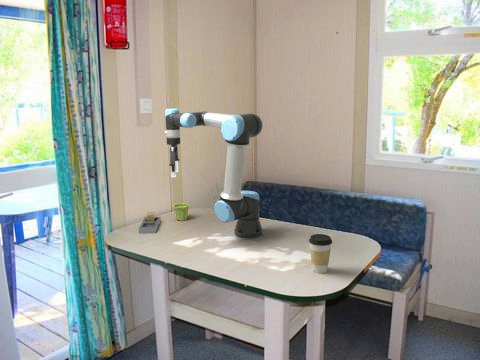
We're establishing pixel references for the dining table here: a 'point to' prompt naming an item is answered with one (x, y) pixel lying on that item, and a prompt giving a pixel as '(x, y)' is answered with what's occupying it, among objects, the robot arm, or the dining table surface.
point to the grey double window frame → (149, 226)
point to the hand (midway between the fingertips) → (174, 174)
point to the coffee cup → (320, 252)
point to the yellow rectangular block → (150, 216)
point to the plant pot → (181, 211)
